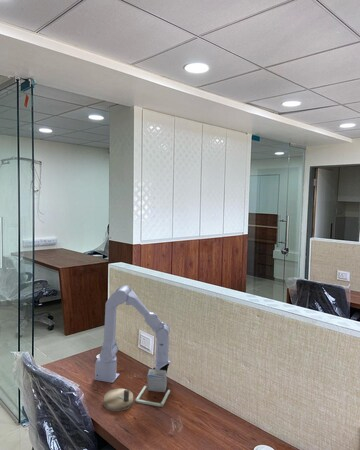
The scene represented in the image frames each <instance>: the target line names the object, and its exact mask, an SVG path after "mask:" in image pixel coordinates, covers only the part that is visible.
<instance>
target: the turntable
mask: <svg viewBox="0 0 360 450" xmlns="http://www.w3.org/2000/svg"><path fill="white" fill-rule="evenodd" d="M133 401H134V393H133V392H132V391H131V390H129V389H127V388H126V389H125V388H114V389H111V390H108V391H107V392H106V393H105V394H104V395H103V402H104V405H105V406H106V407H108V408H110V409H115V410H119V409H124V408H127V407H129V406H130V405H131V404H132V403H133V404H134V402H133ZM104 405H103V406H104Z"/></svg>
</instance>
